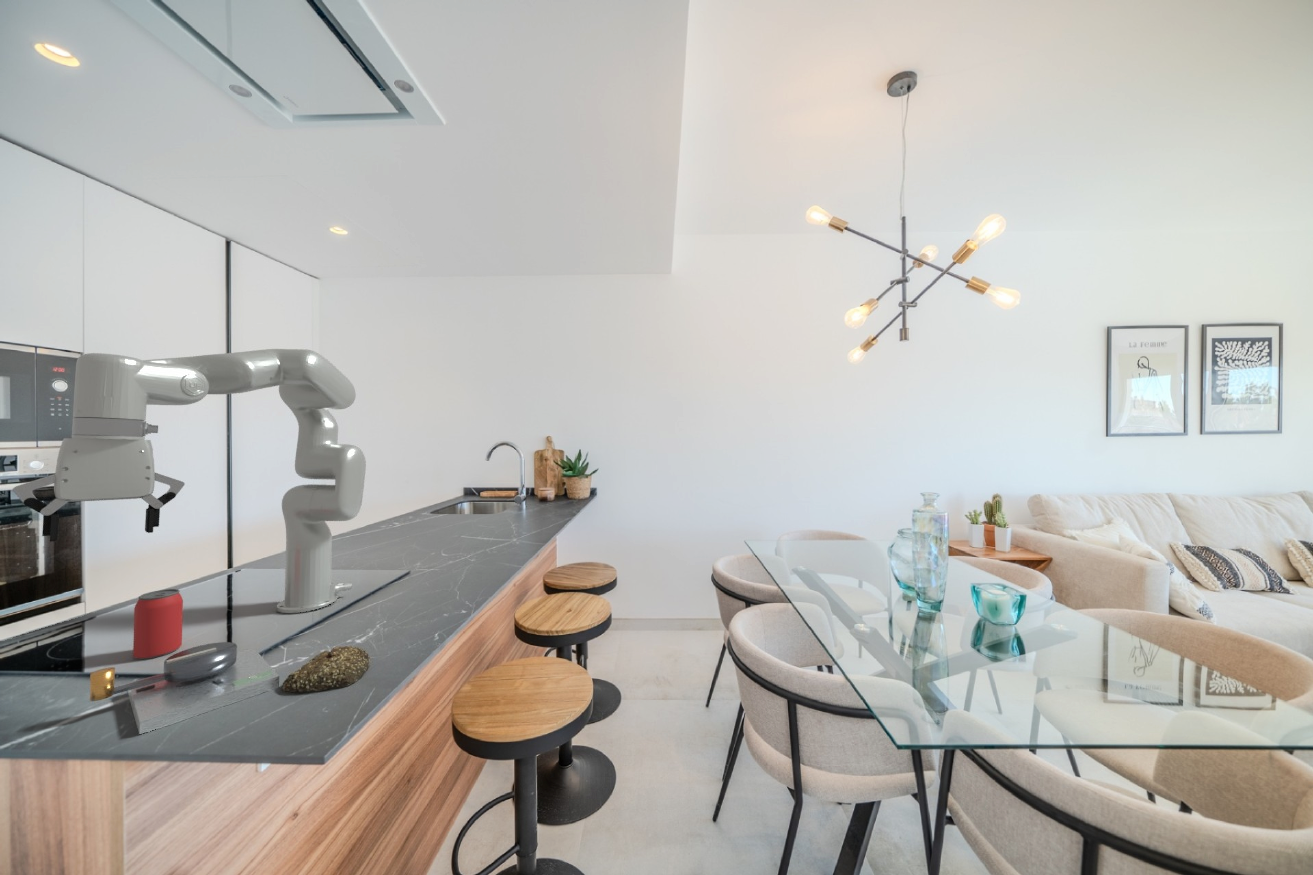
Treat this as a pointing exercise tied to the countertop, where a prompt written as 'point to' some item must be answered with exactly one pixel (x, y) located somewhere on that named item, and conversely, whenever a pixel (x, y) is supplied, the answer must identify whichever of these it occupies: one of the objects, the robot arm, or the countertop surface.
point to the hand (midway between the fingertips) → (103, 535)
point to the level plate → (201, 692)
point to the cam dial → (171, 669)
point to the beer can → (157, 623)
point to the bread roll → (329, 670)
